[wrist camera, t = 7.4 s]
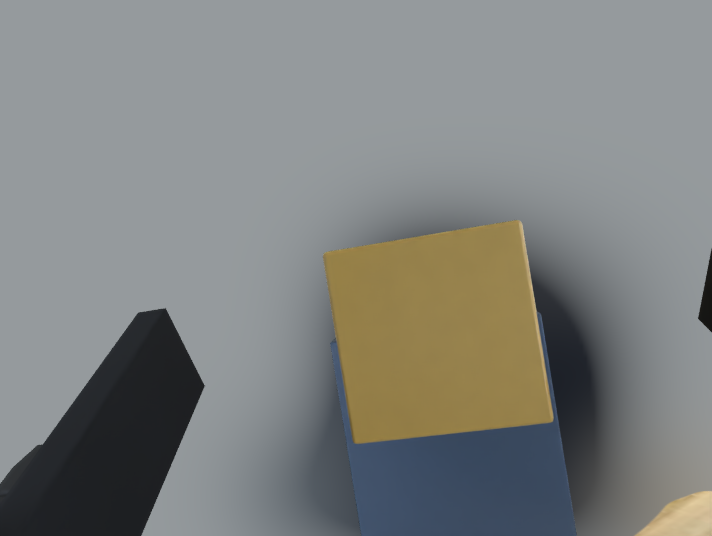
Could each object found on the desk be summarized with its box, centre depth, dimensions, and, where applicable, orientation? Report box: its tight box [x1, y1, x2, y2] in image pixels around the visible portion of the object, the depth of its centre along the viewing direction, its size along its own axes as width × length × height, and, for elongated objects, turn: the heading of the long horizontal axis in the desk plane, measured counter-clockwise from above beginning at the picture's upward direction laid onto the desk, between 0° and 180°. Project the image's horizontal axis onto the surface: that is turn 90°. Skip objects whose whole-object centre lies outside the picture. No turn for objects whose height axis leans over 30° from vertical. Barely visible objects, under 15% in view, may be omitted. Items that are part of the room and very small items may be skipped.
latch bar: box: [323, 220, 554, 444], centre depth 20 cm, size 26×3×3 cm, turn 172°
